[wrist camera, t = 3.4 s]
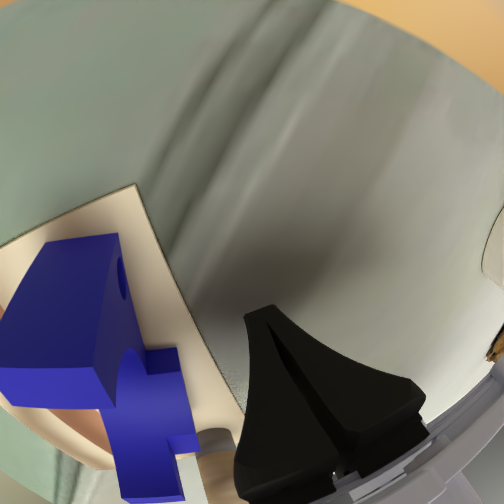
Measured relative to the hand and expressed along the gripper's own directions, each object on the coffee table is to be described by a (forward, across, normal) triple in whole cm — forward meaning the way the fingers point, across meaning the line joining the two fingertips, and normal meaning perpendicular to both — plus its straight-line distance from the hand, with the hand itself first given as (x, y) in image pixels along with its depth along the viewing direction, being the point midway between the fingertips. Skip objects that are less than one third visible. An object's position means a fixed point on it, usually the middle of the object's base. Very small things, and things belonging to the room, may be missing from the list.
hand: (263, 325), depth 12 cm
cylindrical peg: (+1, +6, +11) cm, 12 cm away
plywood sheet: (+1, +11, +4) cm, 11 cm away
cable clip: (+1, +6, 0) cm, 6 cm away
